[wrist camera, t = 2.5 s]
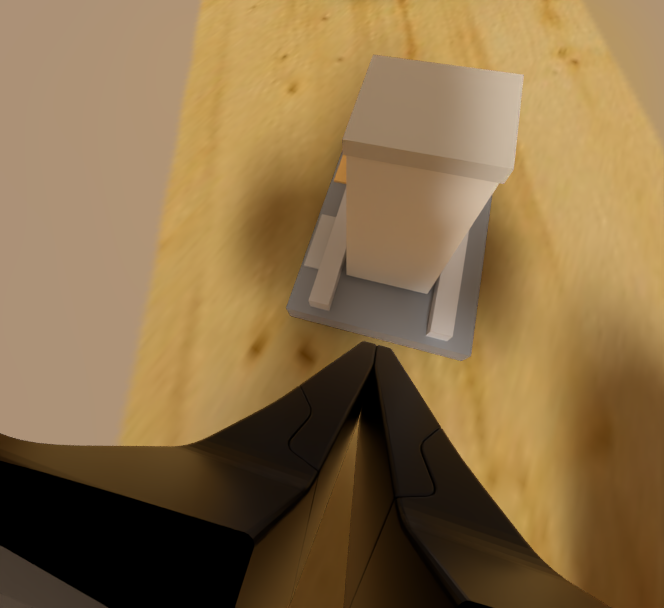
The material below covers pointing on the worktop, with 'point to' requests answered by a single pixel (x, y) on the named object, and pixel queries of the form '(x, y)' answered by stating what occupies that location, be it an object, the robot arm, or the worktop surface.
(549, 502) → the worktop surface
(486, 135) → the slider tab
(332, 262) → the switch base
